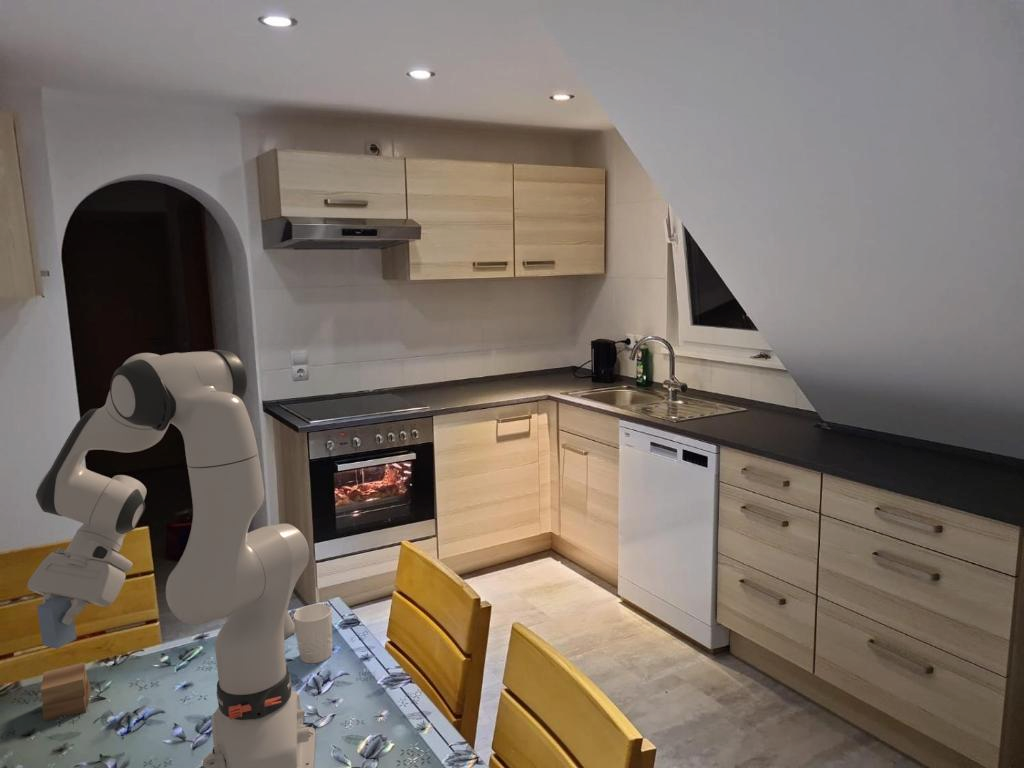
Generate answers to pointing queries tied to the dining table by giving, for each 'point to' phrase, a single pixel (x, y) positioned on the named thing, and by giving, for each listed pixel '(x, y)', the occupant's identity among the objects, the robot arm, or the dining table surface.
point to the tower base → (67, 706)
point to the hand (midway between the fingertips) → (53, 621)
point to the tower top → (63, 684)
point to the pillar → (55, 623)
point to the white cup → (314, 632)
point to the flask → (288, 626)
